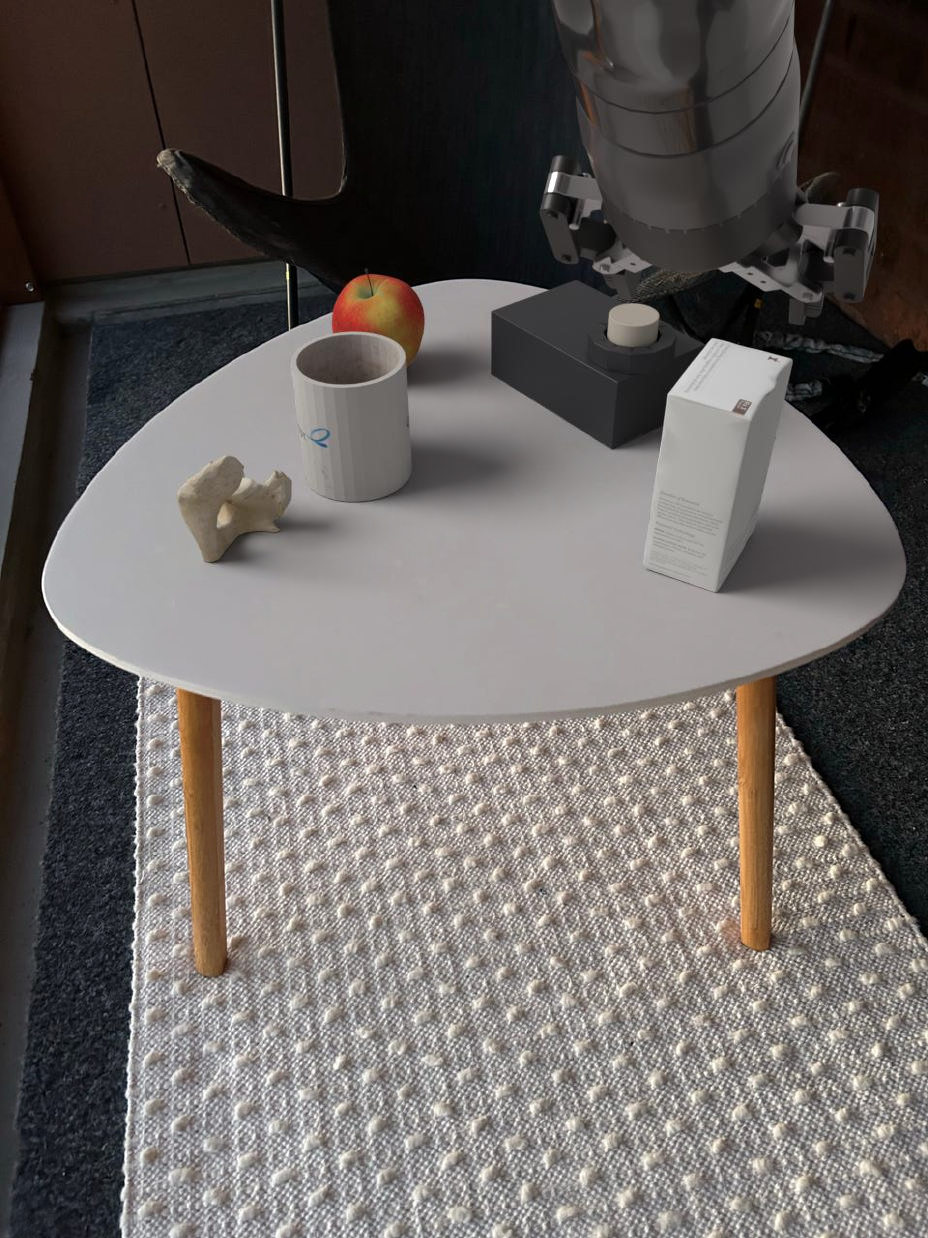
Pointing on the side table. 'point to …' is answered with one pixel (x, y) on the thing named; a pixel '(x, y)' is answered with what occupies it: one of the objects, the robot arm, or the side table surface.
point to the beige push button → (633, 325)
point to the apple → (381, 311)
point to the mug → (353, 415)
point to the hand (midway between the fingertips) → (714, 293)
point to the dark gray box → (587, 362)
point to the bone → (230, 504)
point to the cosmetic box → (714, 461)
